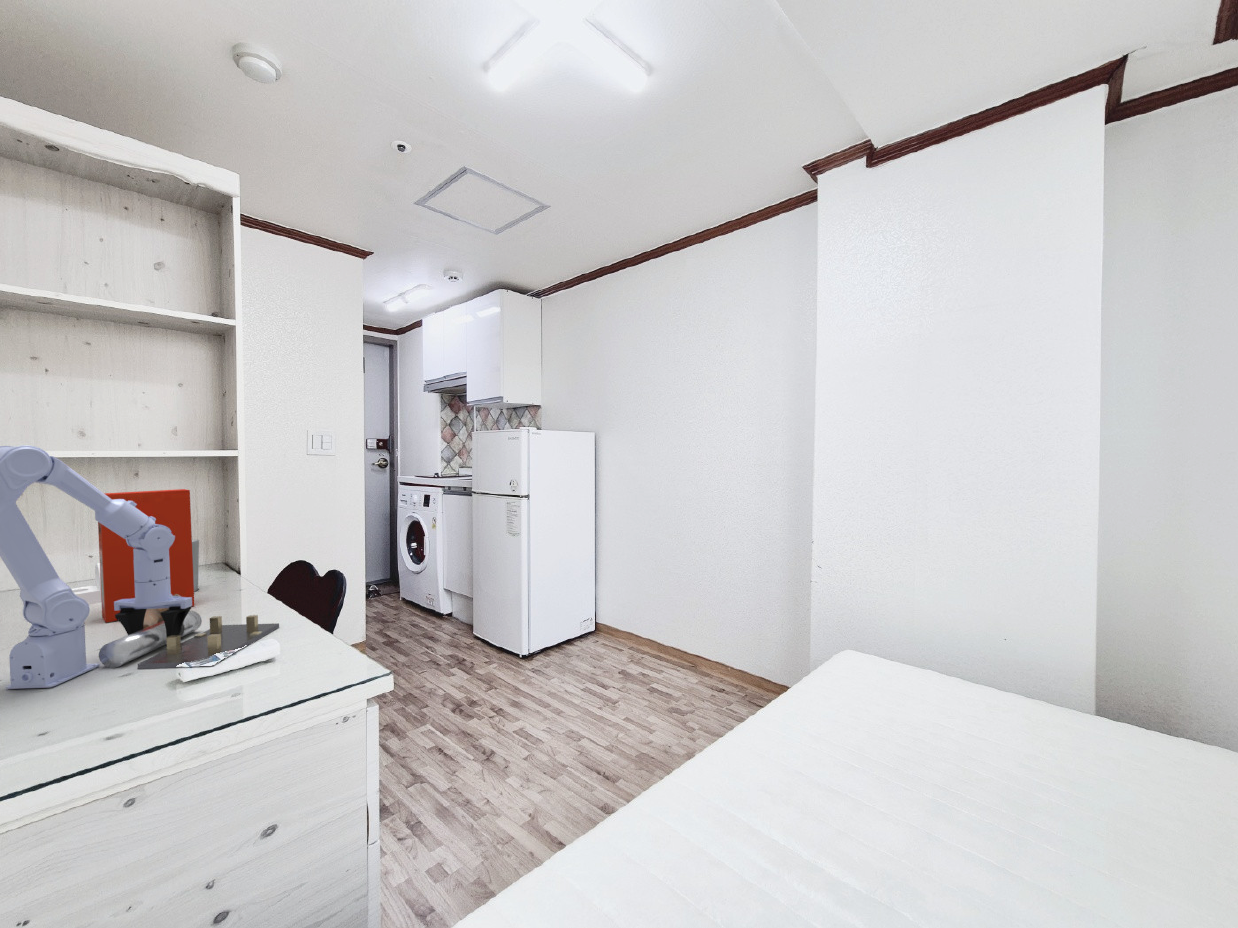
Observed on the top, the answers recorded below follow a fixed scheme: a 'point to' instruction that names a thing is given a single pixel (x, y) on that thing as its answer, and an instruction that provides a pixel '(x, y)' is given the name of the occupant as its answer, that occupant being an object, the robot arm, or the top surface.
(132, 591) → the file binder
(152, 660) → the grey plate with pegs
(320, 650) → the top surface
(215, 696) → the top surface
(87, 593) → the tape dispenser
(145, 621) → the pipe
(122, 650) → the silver long rounded block
